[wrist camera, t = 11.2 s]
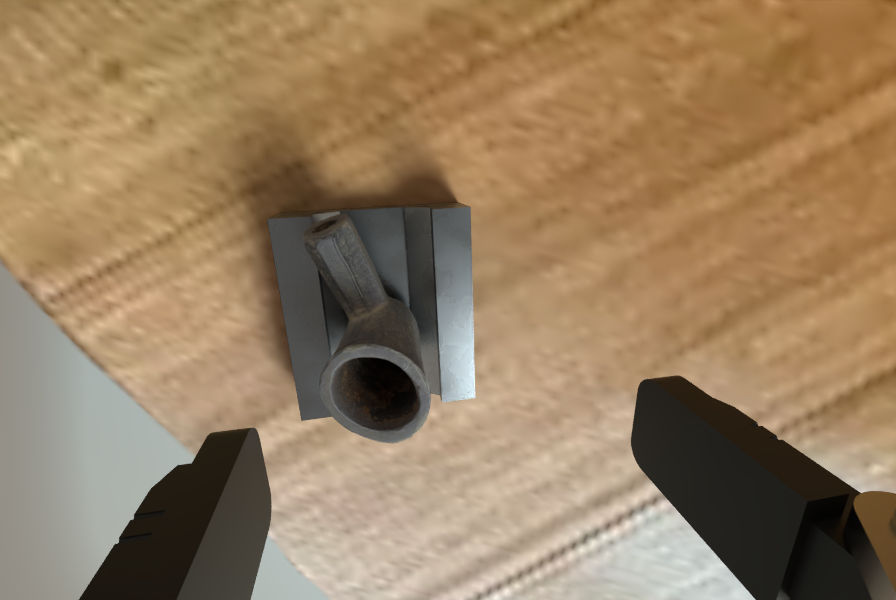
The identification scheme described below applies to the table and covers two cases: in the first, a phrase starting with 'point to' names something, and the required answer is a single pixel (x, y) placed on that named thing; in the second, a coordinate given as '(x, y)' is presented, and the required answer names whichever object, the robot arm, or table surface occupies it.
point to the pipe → (368, 342)
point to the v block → (403, 278)
